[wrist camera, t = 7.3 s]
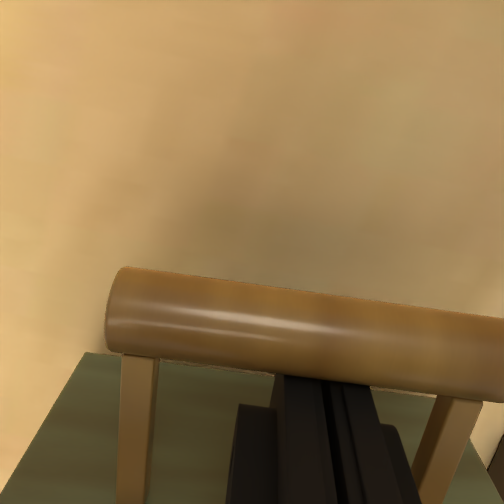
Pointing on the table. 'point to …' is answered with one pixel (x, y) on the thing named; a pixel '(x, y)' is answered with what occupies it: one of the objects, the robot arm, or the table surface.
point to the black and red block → (498, 470)
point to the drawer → (254, 389)
